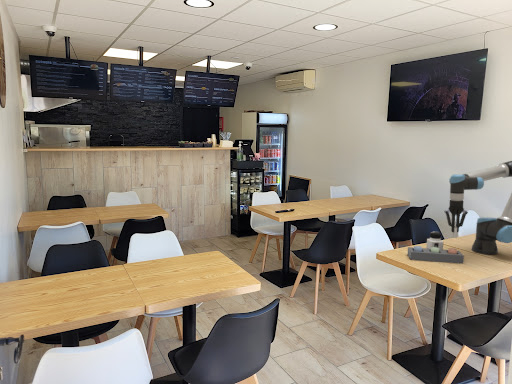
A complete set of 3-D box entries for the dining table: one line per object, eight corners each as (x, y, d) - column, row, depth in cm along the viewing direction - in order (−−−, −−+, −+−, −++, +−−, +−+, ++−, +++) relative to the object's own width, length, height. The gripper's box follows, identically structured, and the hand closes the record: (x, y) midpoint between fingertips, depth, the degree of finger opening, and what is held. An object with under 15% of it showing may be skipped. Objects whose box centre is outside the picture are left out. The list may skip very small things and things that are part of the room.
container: (442, 253, 250) (444, 233, 248) (431, 253, 250) (432, 233, 248) (437, 249, 257) (439, 231, 256) (426, 249, 257) (427, 230, 256)
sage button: (437, 255, 239) (438, 247, 238) (439, 257, 234) (440, 249, 233) (429, 254, 240) (430, 246, 239) (431, 256, 235) (431, 248, 234)
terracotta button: (455, 256, 236) (455, 248, 236) (457, 258, 232) (458, 250, 231) (446, 255, 237) (447, 247, 237) (448, 257, 233) (449, 250, 232)
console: (457, 258, 239) (458, 250, 238) (463, 263, 228) (464, 255, 228) (407, 254, 246) (407, 247, 245) (410, 259, 235) (410, 252, 234)
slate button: (420, 253, 241) (421, 246, 240) (422, 256, 236) (422, 248, 235) (412, 253, 242) (413, 245, 241) (414, 255, 237) (414, 247, 236)
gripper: (466, 198, 234) (464, 236, 238) (443, 198, 237) (441, 235, 240) (470, 200, 227) (468, 239, 230) (446, 200, 230) (445, 238, 233)
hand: (454, 237), depth 235 cm, fingers closed
